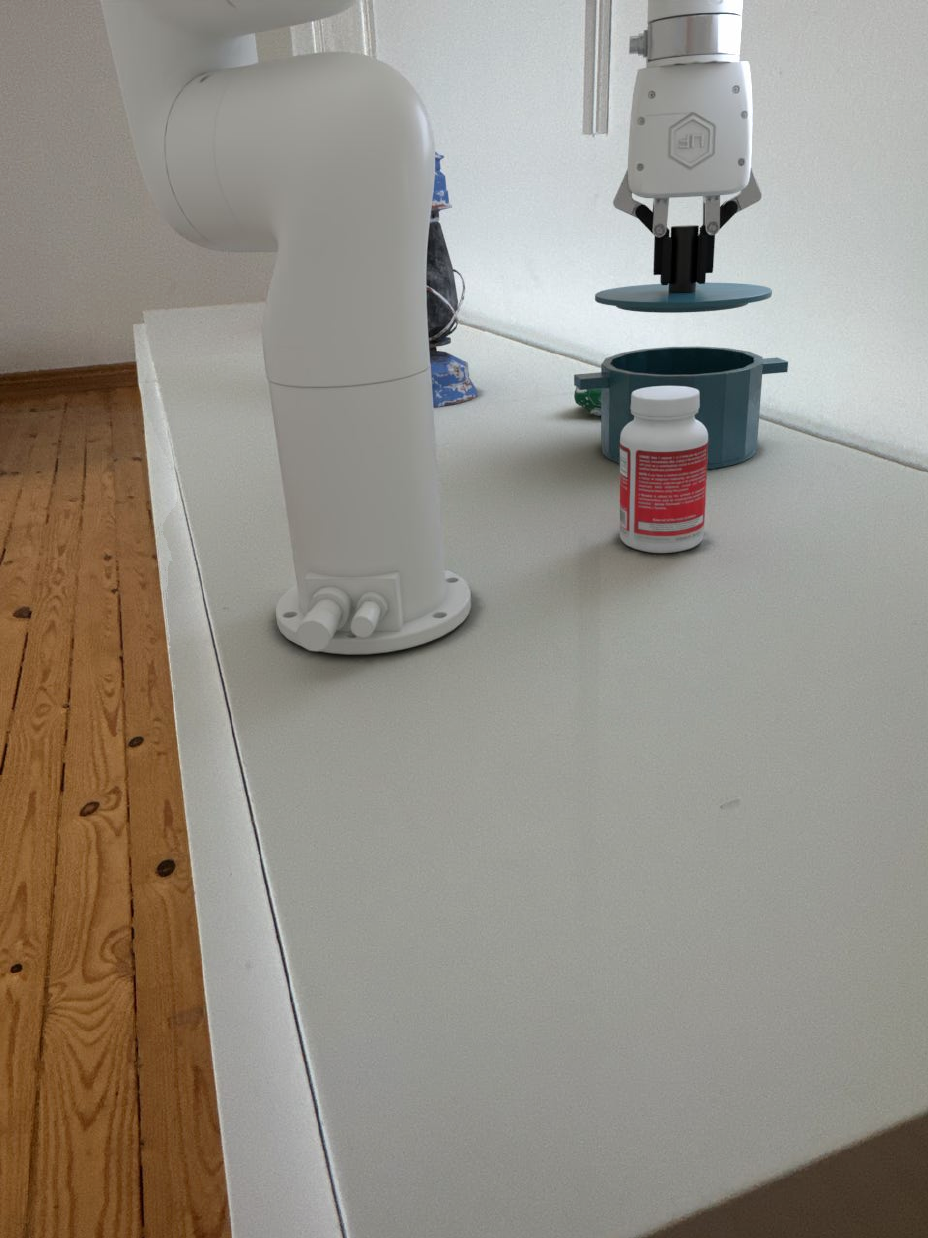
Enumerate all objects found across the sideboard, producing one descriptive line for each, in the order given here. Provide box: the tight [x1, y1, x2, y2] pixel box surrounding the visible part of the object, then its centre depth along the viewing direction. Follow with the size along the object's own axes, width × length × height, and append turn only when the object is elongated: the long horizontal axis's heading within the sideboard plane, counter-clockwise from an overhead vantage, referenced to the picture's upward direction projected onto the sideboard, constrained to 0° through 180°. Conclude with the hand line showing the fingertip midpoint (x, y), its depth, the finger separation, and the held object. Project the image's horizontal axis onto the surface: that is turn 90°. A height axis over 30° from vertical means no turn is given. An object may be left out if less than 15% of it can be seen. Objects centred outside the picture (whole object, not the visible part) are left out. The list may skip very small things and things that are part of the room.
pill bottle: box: [619, 386, 708, 554], centre depth 70 cm, size 6×6×11 cm
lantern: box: [426, 150, 478, 408], centre depth 116 cm, size 15×12×30 cm
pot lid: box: [594, 224, 773, 314], centre depth 86 cm, size 16×16×7 cm
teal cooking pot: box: [573, 346, 789, 470], centre depth 92 cm, size 15×20×8 cm
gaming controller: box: [573, 386, 601, 416], centre depth 107 cm, size 9×4×6 cm
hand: (682, 281), depth 87 cm, fingers closed on pot lid, 2 cm apart
